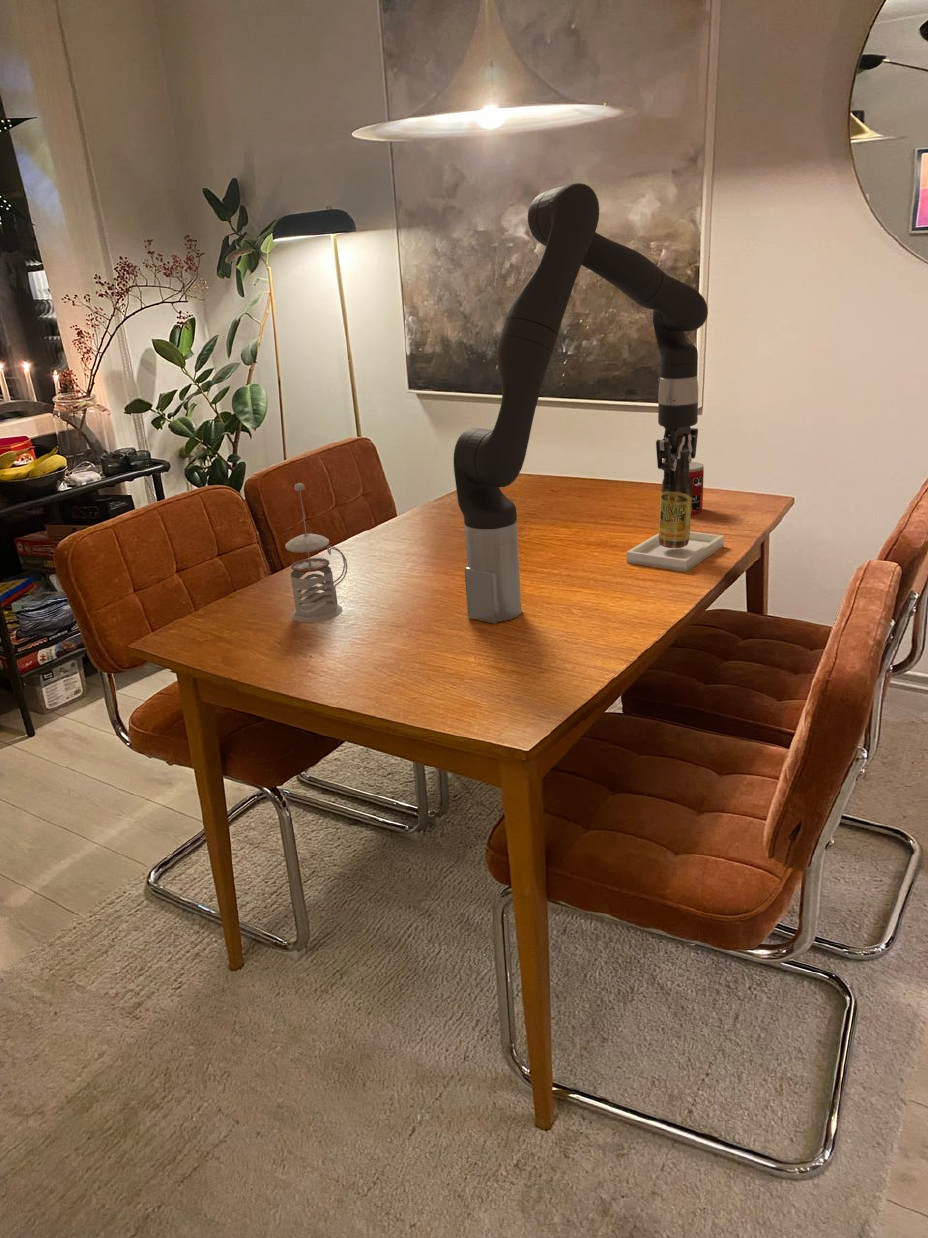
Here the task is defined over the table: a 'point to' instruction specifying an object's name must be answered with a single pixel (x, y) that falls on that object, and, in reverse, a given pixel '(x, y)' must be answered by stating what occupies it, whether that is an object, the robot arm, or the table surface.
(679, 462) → the sauce bottle
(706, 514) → the table surface
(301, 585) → the french press
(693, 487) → the canned food
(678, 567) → the white tray
